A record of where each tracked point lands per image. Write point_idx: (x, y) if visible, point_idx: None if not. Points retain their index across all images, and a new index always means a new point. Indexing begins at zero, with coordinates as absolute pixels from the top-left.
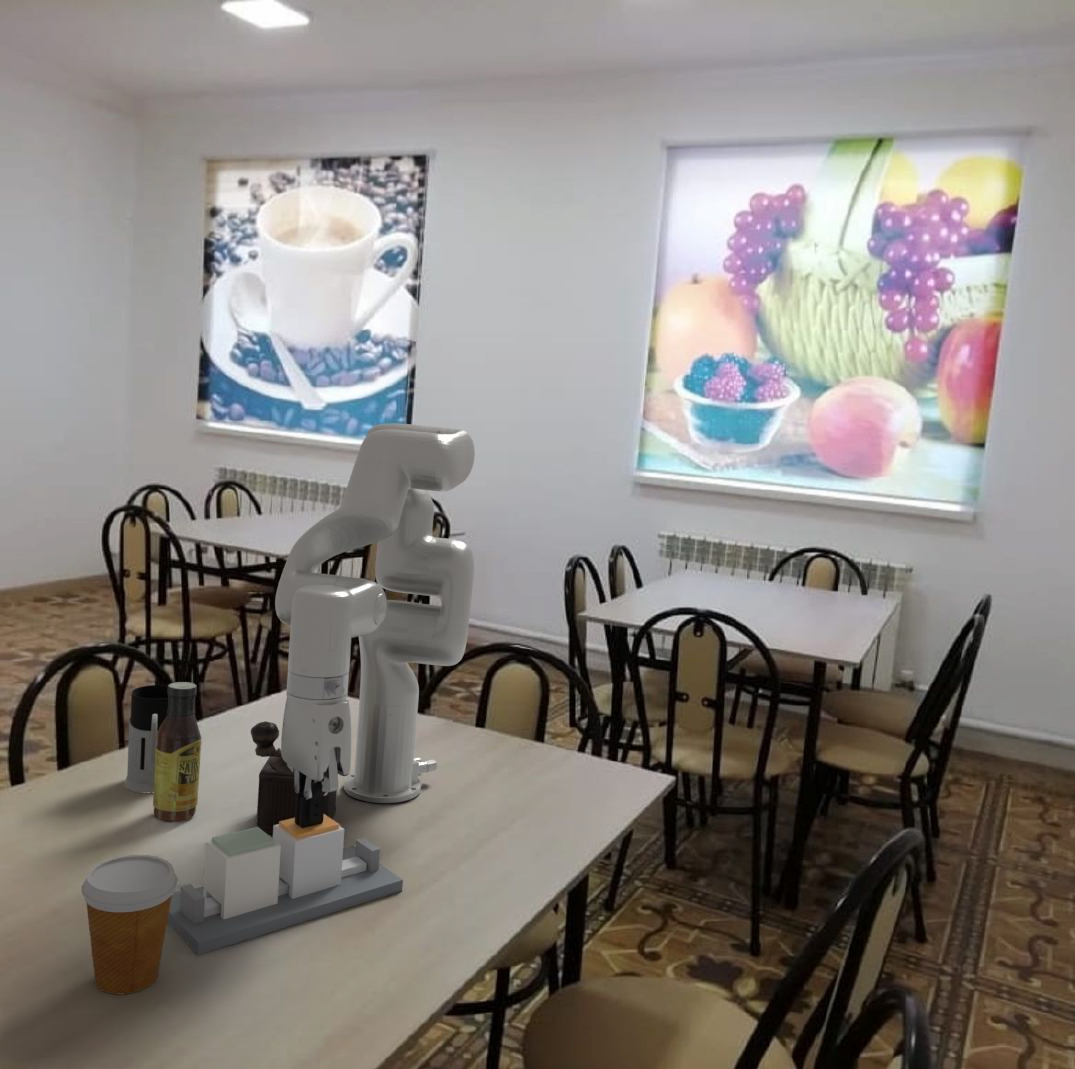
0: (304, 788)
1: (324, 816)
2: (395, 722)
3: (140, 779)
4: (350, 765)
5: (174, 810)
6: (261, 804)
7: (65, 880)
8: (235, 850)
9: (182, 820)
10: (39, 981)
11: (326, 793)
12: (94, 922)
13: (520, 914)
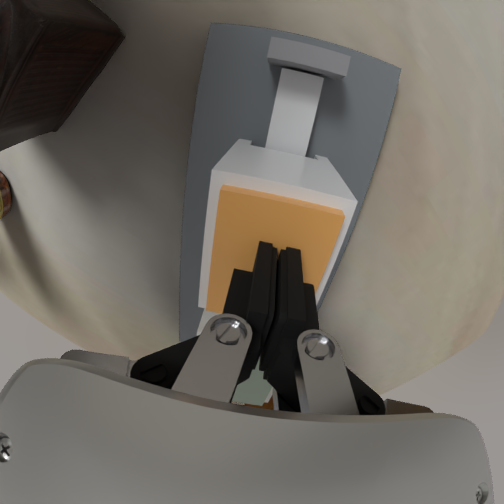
0: (244, 380)
1: (262, 207)
2: None
3: None
4: (488, 463)
5: (2, 211)
6: (24, 136)
7: (92, 332)
8: (264, 401)
9: (10, 194)
10: (233, 403)
11: (336, 348)
12: None
13: None
